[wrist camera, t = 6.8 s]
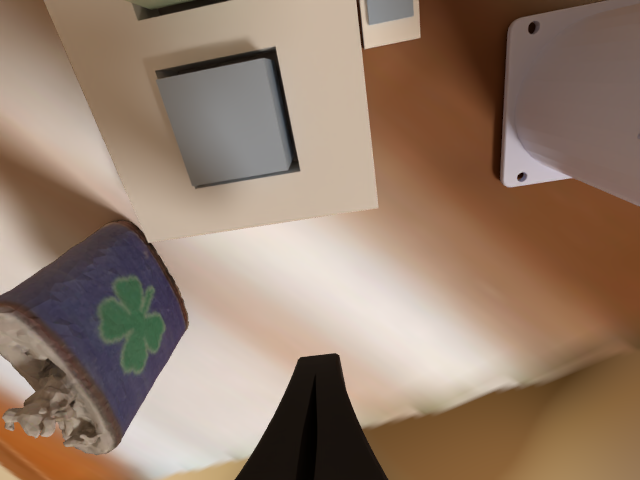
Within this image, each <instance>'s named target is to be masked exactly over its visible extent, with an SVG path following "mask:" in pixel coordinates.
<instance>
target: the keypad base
mask: <svg viewBox="0 0 640 480" xmlns="http://www.w3.org/2000/svg"><path fill="white" fill-rule="evenodd" d="M43 1H44V3H45V5H46V7H47V10H48V12H49V14H50V17H51V19H52V21H53V24H54V26H55V28H56V31H57V33H58V35H59V38H60V40H61V42H62V44H63V47H64V49H65V51H66V54H67V56H68V58H69V61H70V63H71V65H72V68H73V70H74V72H75V75H76V77H77V79H78V81H79V84H80V86H81V88H82V91H83V93H84V95H85V98H86V100H87V102H88V105H89V107H90V109H91V112H92V114H93V116H94V119H95V121H96V123H97V125H98V128H99V130H100V132H101V135H102V137H103V139H104V142H105V144H106V146H107V149H108V151H109V153H110V156H111V158H112V160H113V162H114V165H115V167H116V169H117V172H118V174H119V176H120V179H121V181H122V183H123V186H124V188H125V190H126V193H127V195H128V197H129V199H130V202H131V204H132V206H133V209H134V211H135V213H136V216H137V218H138V220H139V223H140V225H141V227H142V230H143V232H144V234H145V237H146V239H147V241H148V243H151V242H158V241H165V240H171V239H178V238H184V237H191V236H197V235H204V234H211V233H217V232H224V231H230V230H237V229H244V228H250V227H257V226H263V225H270V224H276V223H283V222H290V221H296V220H303V219H309V218H316V217H322V216H329V215H336V214H342V213H349V212H355V211H362V210H369V209H375V208H378V199H377V189H376V180H375V171H374V161H373V152H372V143H371V134H370V124H369V115H368V106H367V96H366V87H365V78H364V68H363V59H362V50H361V41H360V31H359V22H358V13H357V3H356V0H194V1H190V2H185V3H181V4H176V5H172V6H167V7H163V8H158V9H154V10H150V9H147V8H145V7H142V6H139V5H136V4H133V3H131V2H128V1H125V0H43ZM261 58H266V59H270V60H274V61H275V66H276V71H277V76H278V81H279V86H280V91H281V95H282V100H283V105H284V110H285V115H286V120H287V125H288V130H289V134H290V139H291V144H292V149H293V154H294V158H293V160H292V162H291V164H290V167H289V169H288V170H286V171H280V172H274V173H268V174H262V175H256V176H251V177H245V178H239V179H233V180H227V181H221V182H215V183H209V184H203V185H197V186H192V184H191V181H190V178H189V175H188V173H187V170H186V167H185V164H184V161H183V158H182V155H181V152H180V149H179V146H178V143H177V141H176V138H175V135H174V132H173V129H172V126H171V123H170V120H169V117H168V114H167V112H166V109H165V106H164V103H163V100H162V97H161V94H160V91H159V88H158V85H157V82H156V80H157V79H162V78H166V77H171V76H176V75H181V74H186V73H191V72H196V71H201V70H206V69H211V68H216V67H221V66H226V65H231V64H236V63H241V62H246V61H251V60H256V59H261Z"/></svg>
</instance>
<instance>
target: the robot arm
mask: <svg viewBox="0 0 640 480" xmlns="http://www.w3.org/2000/svg"><path fill="white" fill-rule="evenodd" d="M531 22H533V23H534V24H535V31H534V32H533V33H532V34H530V33H529V32H528V26H529V24H530V23H531ZM522 172H523V174H524V175H523V177H522V178H521V179H519V180H517V176H518V175H519V174H520V173H522ZM568 178H575V179H577V180H579V181H582V182H584V183H586V184H589V185H591V186H593V187H596V188H598V189H600V190H603V191H605V192H607V193H610V194H612V195H614V196H617V197H619V198H621V199H624V200H626V201H628V202H631V203H633V204H635V205H638V206H640V0H607V1H602V2H597V3H592V4H586V5H581V6H576V7H571V8H566V9H561V10H556V11H551V12H546V13H541V14H536V15H531V16H526V17H522V18H519V19H516V20H514V21H513V22H512V23H511V25H510V26H509V28H508V33H507V52H506V72H505V91H504V111H503V130H502V150H501V169H500V181H501V183H502V184H503V185H505V186H507V187H516V186H522V185H529V184H535V183H542V182H548V181H555V180H562V179H568ZM235 480H388V478H387V477H386V475H385V473H384V471H383V469H382V468H381V466H380V464H379V462H378V461H377V459H376V457H375V455H374V453H373V451H372V449H371V447H370V445H369V443H368V441H367V439H366V437H365V435H364V433H363V431H362V428H361V426H360V424H359V422H358V419H357V417H356V415H355V412H354V410H353V407H352V405H351V402H350V399H349V397H348V394H347V391H346V387H345V382H344V377H343V372H342V367H341V362H340V357H339V355H338V354H336V353H333V354H325V355H316V356H307V357H300V359H299V360H298V362H297V365H296V367H295V370H294V372H293V375H292V377H291V380H290V382H289V384H288V387H287V389H286V391H285V393H284V396H283V398H282V400H281V402H280V404H279V406H278V408H277V410H276V412H275V414H274V416H273V418H272V420H271V422H270V423H269V425H268V427H267V429H266V431H265V432H264V434H263V436H262V438H261V440H260V441H259V443H258V445H257V446H256V448H255V450H254V451H253V453H252V455H251V456H250V458H249V459H248V461H247V462H246V464H245V465H244V467H243V469H242V470H241V472H240V473H239V475H238V476H237V477H236V479H235Z"/></svg>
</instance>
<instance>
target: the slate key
mask: <svg viewBox="0 0 640 480" xmlns="http://www.w3.org/2000/svg"><path fill="white" fill-rule="evenodd" d="M156 82H157V85H158V88H159V91H160V94H161V97H162V100H163V103H164V106H165V109H166V112H167V114H168V117H169V120H170V123H171V126H172V129H173V132H174V135H175V138H176V141H177V143H178V146H179V149H180V152H181V155H182V158H183V161H184V164H185V167H186V170H187V173H188V175H189V178H190V181H191V184H192V186H197V185H203V184H209V183H215V182H221V181H227V180H233V179H239V178H245V177H251V176H256V175H262V174H268V173H274V172H280V171H286V170H288V169H289V167H290V164H291V162H292V160H293V158H294V154H293V149H292V144H291V139H290V134H289V130H288V125H287V120H286V115H285V110H284V105H283V100H282V95H281V91H280V86H279V81H278V76H277V71H276V66H275V61H274V60H270V59H266V58H261V59H256V60H251V61H246V62H241V63H236V64H231V65H226V66H221V67H216V68H211V69H206V70H201V71H196V72H191V73H186V74H181V75H176V76H171V77H166V78H162V79H157V80H156Z"/></svg>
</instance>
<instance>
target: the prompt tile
mask: <svg viewBox="0 0 640 480" xmlns="http://www.w3.org/2000/svg"><path fill="white" fill-rule="evenodd" d="M359 6H360V15H361V25H362V34H363V44H364V49H368V48H373V47H378V46H383V45H388V44H393V43H398V42H403V41H408V40H413V39H418V38H420V15H419V0H359Z"/></svg>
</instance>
